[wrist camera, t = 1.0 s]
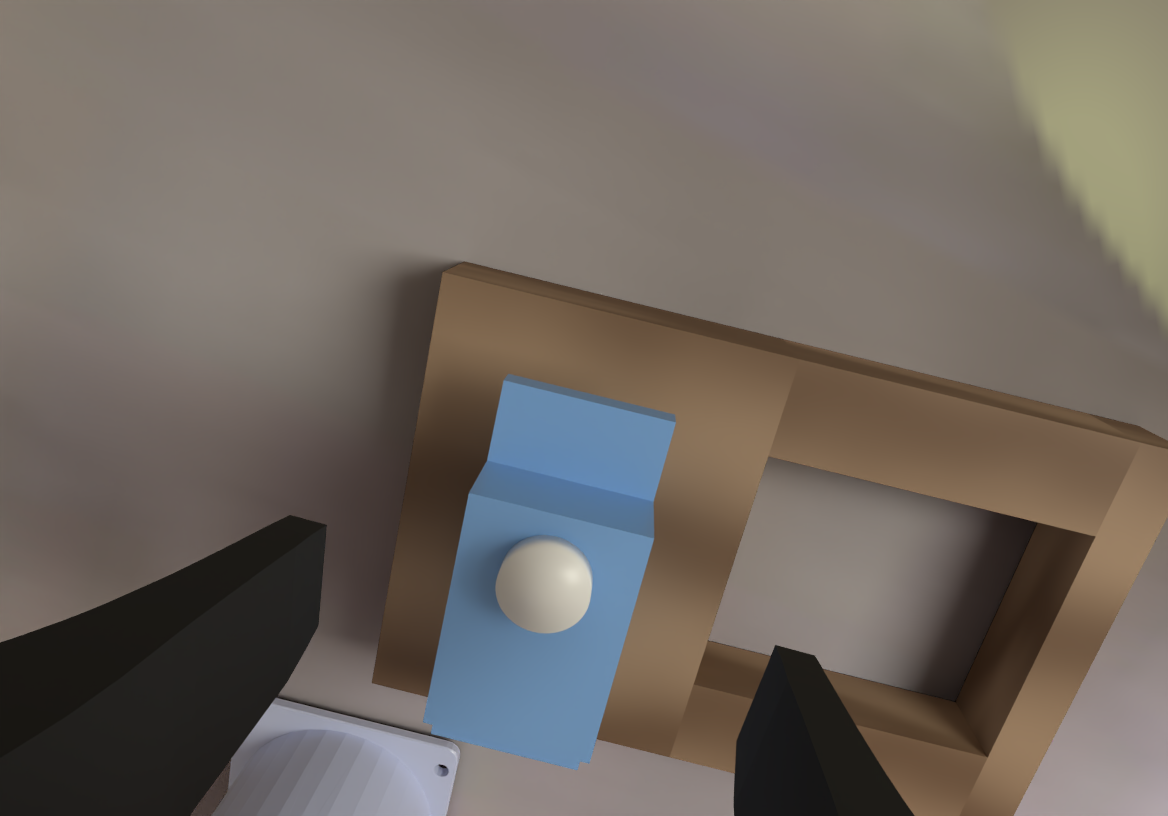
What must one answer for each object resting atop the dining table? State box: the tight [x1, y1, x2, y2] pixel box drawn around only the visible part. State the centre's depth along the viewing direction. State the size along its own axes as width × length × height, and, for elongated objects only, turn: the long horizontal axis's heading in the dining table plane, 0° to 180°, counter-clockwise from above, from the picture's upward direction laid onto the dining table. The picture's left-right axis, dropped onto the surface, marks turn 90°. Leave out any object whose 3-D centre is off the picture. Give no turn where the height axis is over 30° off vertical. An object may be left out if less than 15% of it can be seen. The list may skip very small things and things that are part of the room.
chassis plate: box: [372, 262, 1168, 816], centre depth 23 cm, size 13×20×2 cm, turn 77°
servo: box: [423, 374, 676, 770], centre depth 19 cm, size 10×4×6 cm, turn 167°
